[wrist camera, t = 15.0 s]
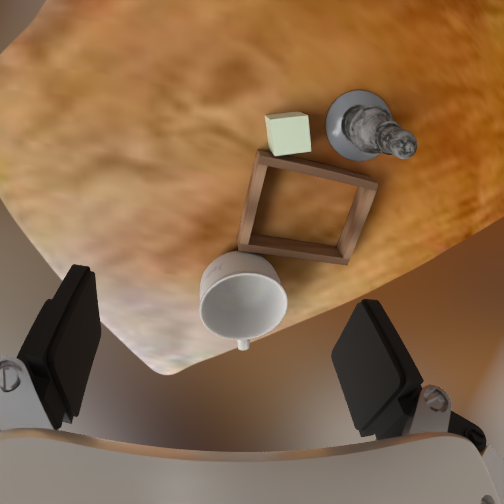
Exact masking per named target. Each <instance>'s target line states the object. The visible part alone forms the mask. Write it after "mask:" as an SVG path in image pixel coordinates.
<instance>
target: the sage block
mask: <svg viewBox="0 0 504 504" xmlns="http://www.w3.org/2000/svg"><path fill="white" fill-rule="evenodd" d="M265 120H266V128H267V135H268V143H269V149H270V150H271V151H272V153H273V154H274V156H280V155H287V154H295V153H303V152H311V142H310V130H309V120H308V115H306V114H304V113H302V112H299V111H297V112H288V113H279V114H271V115H265Z"/></svg>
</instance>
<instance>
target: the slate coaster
mask: <svg viewBox="0 0 504 504" xmlns="http://www.w3.org/2000/svg"><path fill="white" fill-rule="evenodd" d="M359 104H362V105H367V106H371V105H375V106H380V107H382V108H384V109H386V110H387V111H388V112H389V113H390V110H389V108H388V106H387V105H386V104H385V102H384V101H383V100H382V99H381V98H380V97H378V96H377V95H375V94H373V93H371V92H367V91H362V90H354V91H349V92H346V93H344V94H342V95H341V96H339V97H338V98H337V99H336V100H335V101H334V102H333V103H332V105H331V106H330V108H329V110H328V112H327V115H326V120H325V130H326V135H327V138H328V140H329V142H330V144H331V146H332V147H333V148H334V149H335V150H336V151H337V152H338V153H339V154H340V155H342V156H343V157H345V158H347V159H350V160H353V161H366V160H370V159H372V158H374V157H376V156H378V155H374V156H371V155H366V154H364V153H361V152H360V151H359V150H358V149H356V147H355V146H354V145H353V144H351V143H350V142H349V141H347V140H346V138H345V137H344V135H343V133H342V130H341V120H342V117H343V115H344V113H345V112H346V110H348V109H349V108H350V107H352V106H354V105H359ZM390 114H391V113H390Z"/></svg>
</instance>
